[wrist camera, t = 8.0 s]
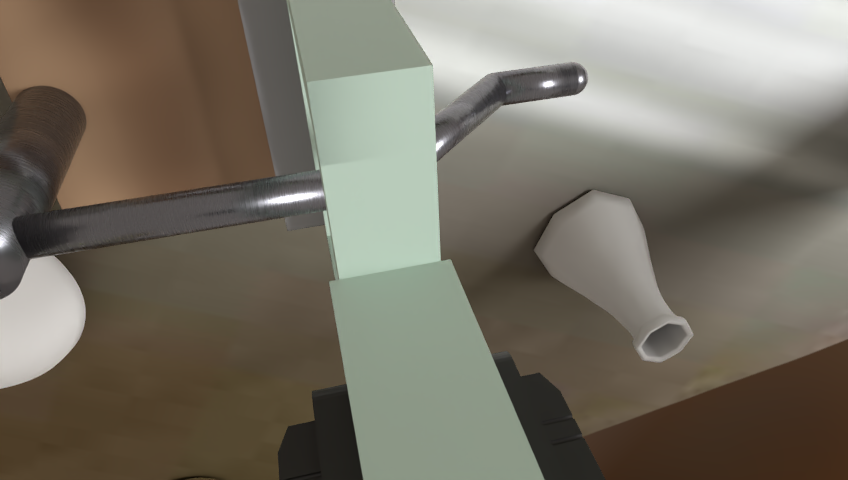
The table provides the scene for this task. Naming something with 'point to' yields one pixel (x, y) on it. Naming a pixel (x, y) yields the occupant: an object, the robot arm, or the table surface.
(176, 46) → the wooden block
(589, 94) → the table surface
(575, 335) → the table surface
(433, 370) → the square frame with post
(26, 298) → the flower in vase
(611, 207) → the flask
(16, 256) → the bent wire
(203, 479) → the water bottle
